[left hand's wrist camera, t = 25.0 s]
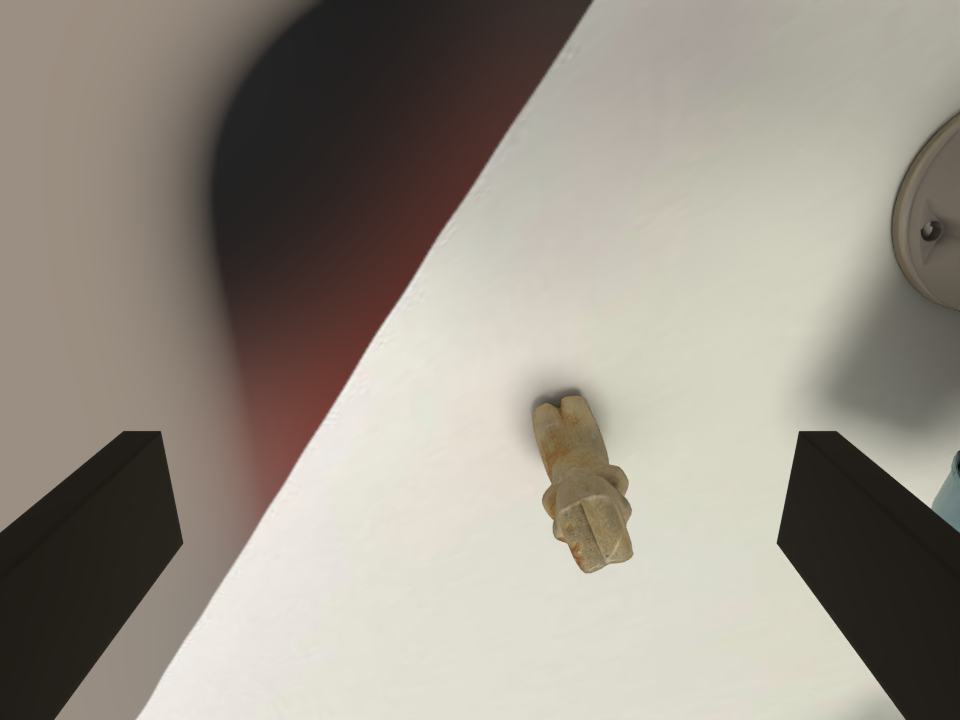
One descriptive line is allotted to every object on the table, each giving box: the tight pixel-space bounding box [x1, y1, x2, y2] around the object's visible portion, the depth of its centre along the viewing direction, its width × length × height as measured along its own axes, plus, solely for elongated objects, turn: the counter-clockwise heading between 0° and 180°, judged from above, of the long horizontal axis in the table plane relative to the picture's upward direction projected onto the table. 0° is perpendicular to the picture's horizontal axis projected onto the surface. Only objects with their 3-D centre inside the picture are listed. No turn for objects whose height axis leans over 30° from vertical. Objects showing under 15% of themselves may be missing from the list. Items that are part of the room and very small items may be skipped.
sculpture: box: [532, 396, 633, 573], centre depth 42 cm, size 6×7×15 cm
